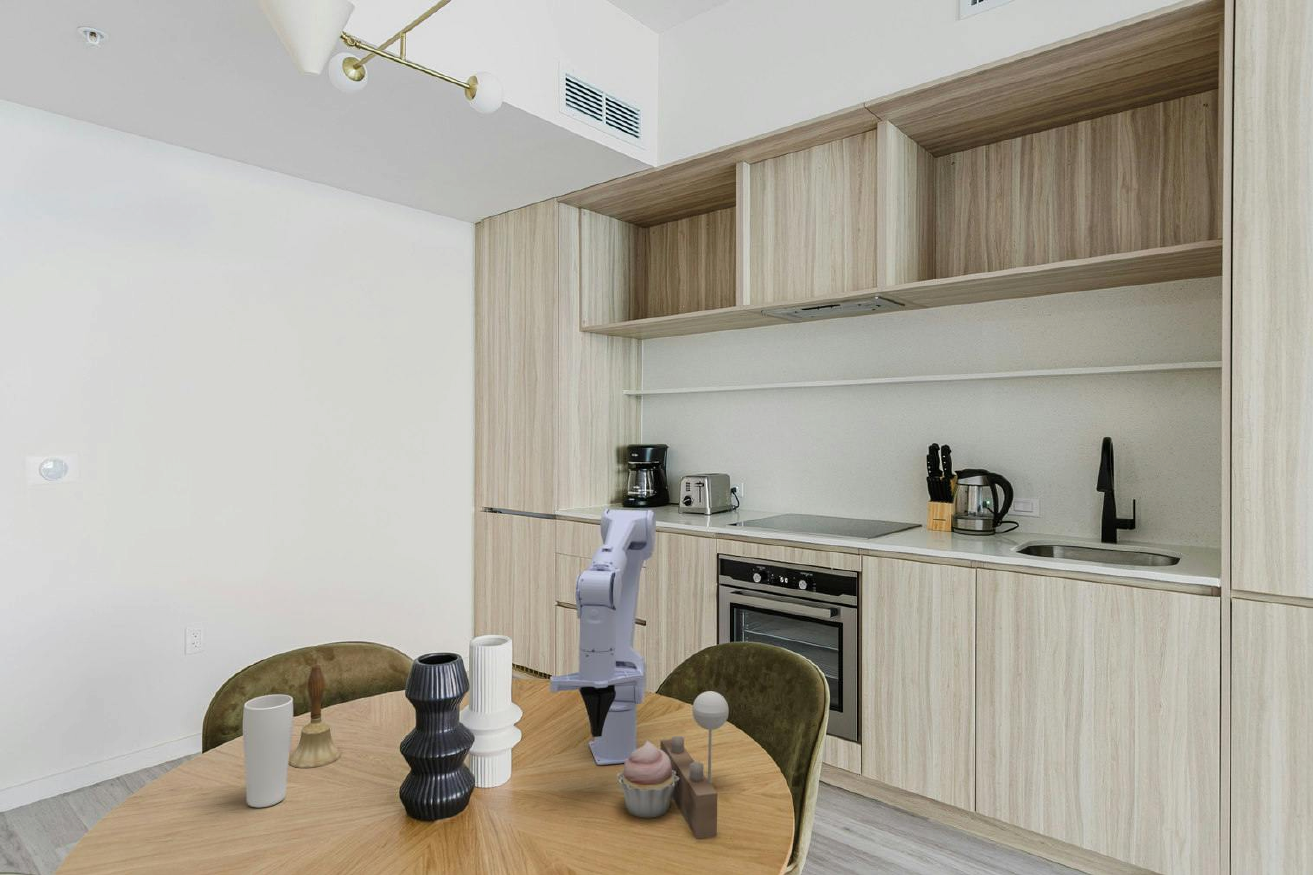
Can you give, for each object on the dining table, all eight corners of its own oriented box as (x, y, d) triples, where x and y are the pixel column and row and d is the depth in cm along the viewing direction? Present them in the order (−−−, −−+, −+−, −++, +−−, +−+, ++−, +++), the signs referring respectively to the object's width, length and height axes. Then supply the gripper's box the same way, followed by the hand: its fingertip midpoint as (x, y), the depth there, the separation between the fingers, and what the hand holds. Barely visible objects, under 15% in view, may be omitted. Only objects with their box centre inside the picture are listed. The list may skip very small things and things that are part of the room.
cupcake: (662, 789, 116) (663, 726, 117) (688, 816, 108) (689, 748, 108) (607, 800, 112) (608, 735, 113) (630, 829, 104) (631, 758, 104)
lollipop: (725, 796, 114) (726, 699, 115) (688, 792, 116) (689, 696, 116) (729, 778, 120) (730, 687, 121) (694, 775, 122) (695, 684, 122)
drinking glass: (301, 794, 113) (303, 697, 113) (264, 815, 106) (267, 711, 107) (267, 787, 115) (270, 691, 115) (229, 807, 109) (232, 705, 109)
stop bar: (659, 776, 121) (660, 727, 121) (677, 774, 122) (678, 726, 122) (696, 838, 102) (697, 781, 102) (716, 836, 102) (717, 778, 103)
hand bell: (333, 767, 123) (335, 671, 123) (281, 769, 122) (283, 673, 122) (346, 747, 131) (348, 658, 131) (297, 749, 130) (299, 659, 130)
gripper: (554, 657, 109) (552, 748, 109) (648, 651, 113) (647, 740, 112) (549, 644, 116) (547, 730, 116) (638, 640, 119) (637, 723, 119)
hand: (596, 734), depth 114 cm, fingers closed
